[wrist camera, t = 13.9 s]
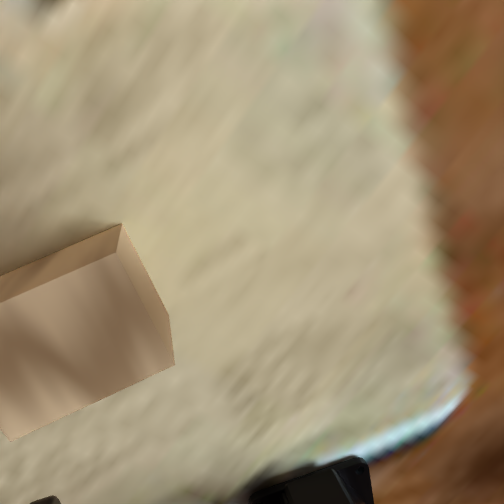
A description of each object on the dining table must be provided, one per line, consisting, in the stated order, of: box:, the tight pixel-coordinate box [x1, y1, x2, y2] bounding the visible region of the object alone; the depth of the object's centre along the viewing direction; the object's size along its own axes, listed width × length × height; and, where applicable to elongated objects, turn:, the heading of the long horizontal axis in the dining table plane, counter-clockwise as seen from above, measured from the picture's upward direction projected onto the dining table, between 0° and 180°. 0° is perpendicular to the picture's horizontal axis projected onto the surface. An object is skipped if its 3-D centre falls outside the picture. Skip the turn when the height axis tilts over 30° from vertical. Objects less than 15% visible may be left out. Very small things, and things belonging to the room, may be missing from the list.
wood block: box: [0, 224, 175, 442], centre depth 17 cm, size 4×4×6 cm
